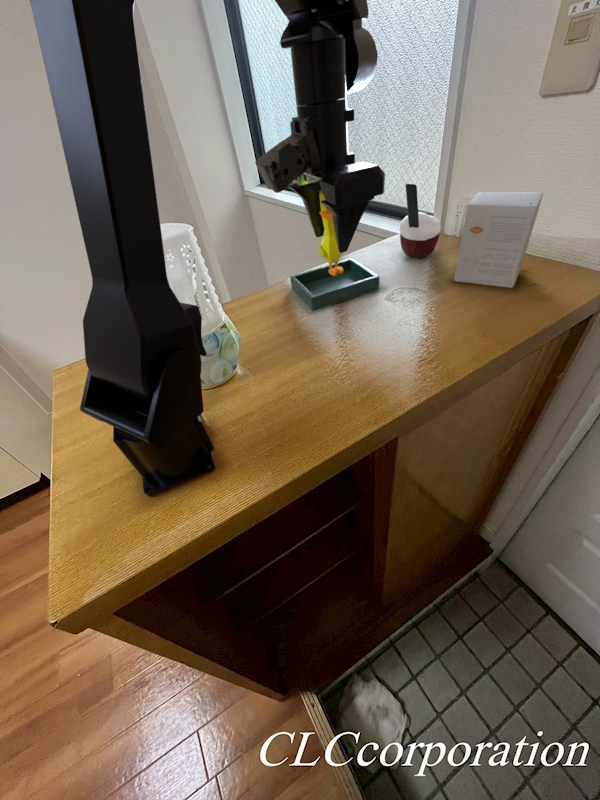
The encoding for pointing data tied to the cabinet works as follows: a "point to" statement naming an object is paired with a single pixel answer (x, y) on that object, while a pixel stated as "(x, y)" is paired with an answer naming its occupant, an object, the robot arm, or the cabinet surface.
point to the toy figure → (329, 240)
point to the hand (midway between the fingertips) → (330, 243)
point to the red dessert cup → (418, 228)
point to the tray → (334, 284)
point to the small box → (496, 237)
